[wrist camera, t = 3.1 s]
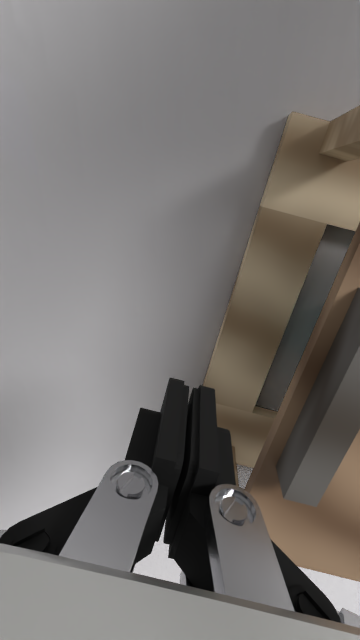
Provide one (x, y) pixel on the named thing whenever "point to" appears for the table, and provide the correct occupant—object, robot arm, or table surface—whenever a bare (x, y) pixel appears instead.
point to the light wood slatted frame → (281, 266)
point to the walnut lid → (319, 441)
